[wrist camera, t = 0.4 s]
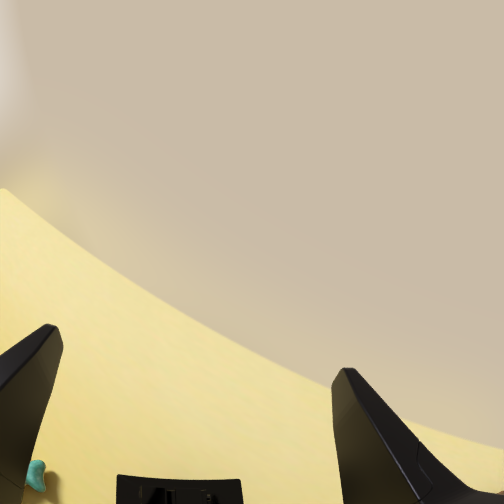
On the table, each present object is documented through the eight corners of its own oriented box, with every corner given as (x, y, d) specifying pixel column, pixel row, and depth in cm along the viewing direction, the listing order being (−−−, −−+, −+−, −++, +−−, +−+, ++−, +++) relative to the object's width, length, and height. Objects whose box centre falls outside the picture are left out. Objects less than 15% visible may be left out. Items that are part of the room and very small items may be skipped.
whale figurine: (-11, 434, 15) (-35, 416, 12) (53, 450, 16) (31, 433, 14) (-16, 491, 10) (-43, 478, 8) (52, 513, 12) (27, 506, 9)
